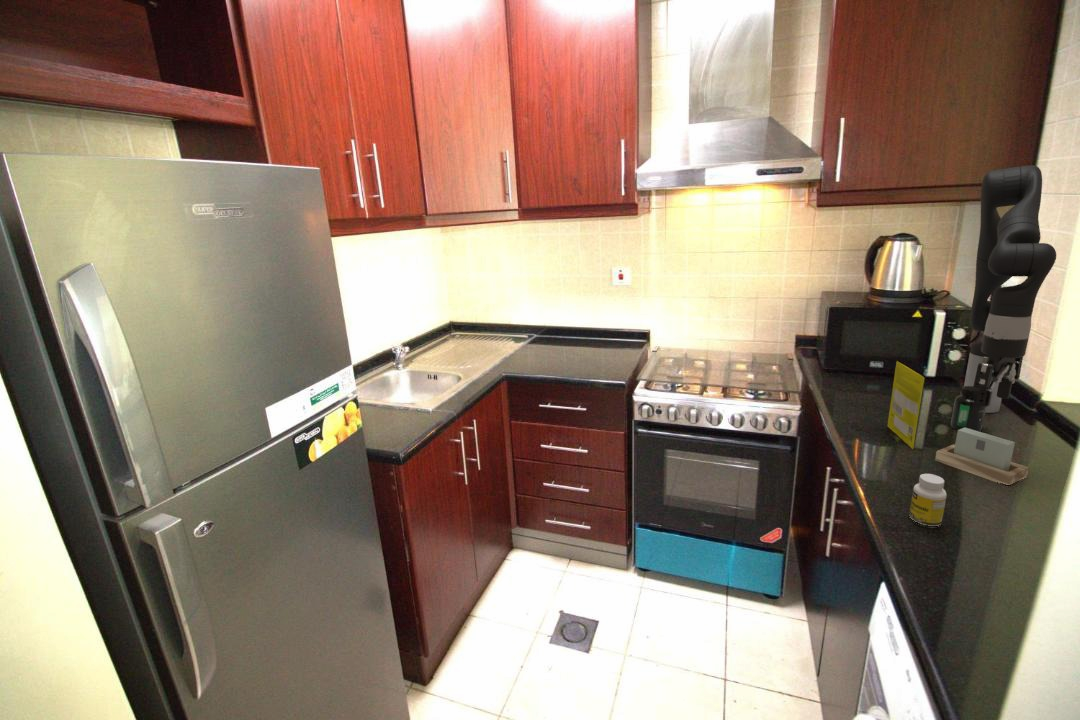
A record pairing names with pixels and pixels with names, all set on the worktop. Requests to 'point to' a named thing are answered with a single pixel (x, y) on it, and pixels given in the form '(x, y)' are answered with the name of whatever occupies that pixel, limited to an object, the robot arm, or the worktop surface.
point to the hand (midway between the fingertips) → (992, 401)
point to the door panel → (984, 448)
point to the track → (981, 467)
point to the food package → (905, 403)
